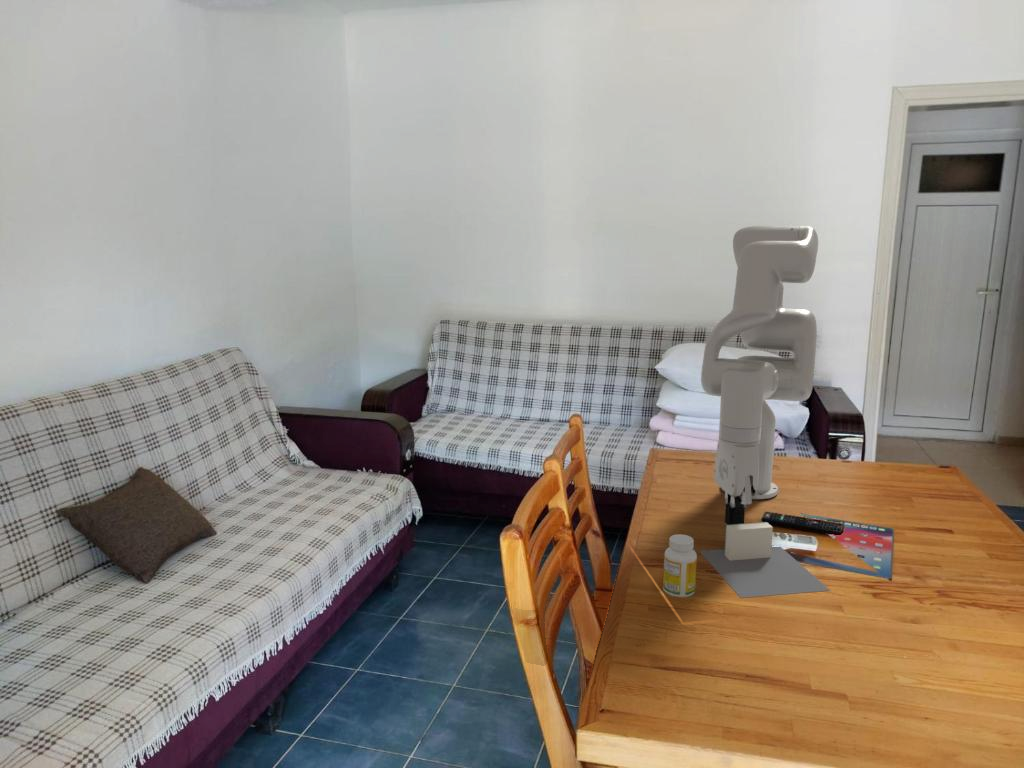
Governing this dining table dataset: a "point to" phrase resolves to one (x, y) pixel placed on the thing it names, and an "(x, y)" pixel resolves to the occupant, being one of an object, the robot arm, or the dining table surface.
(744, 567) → the mat
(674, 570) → the supplement bottle
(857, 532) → the tablet
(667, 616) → the dining table surface
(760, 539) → the tile
